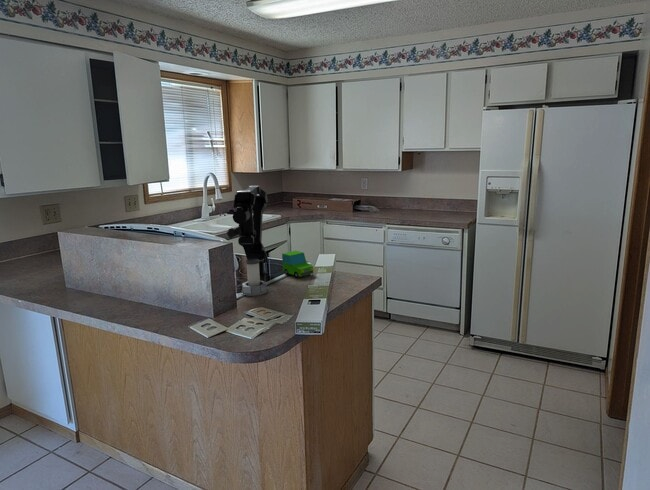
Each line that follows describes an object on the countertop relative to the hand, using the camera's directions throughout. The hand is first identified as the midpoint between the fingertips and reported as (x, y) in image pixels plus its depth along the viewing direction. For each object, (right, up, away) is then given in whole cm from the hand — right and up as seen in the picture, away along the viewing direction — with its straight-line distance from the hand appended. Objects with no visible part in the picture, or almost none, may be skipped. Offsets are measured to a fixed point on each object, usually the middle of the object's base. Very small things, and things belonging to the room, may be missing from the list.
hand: (248, 255), depth 194 cm
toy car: (+21, -10, +15) cm, 28 cm away
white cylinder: (+4, -14, -8) cm, 17 cm away
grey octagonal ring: (+4, -15, -8) cm, 17 cm away
